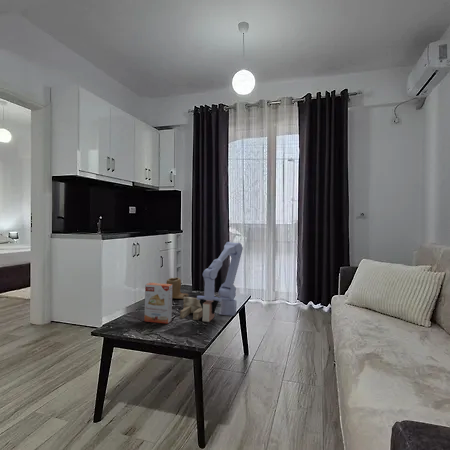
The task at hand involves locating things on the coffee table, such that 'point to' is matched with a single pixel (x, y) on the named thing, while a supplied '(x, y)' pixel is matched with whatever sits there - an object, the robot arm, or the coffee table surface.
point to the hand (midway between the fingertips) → (208, 313)
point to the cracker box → (158, 303)
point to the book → (207, 311)
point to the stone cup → (176, 288)
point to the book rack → (191, 308)
